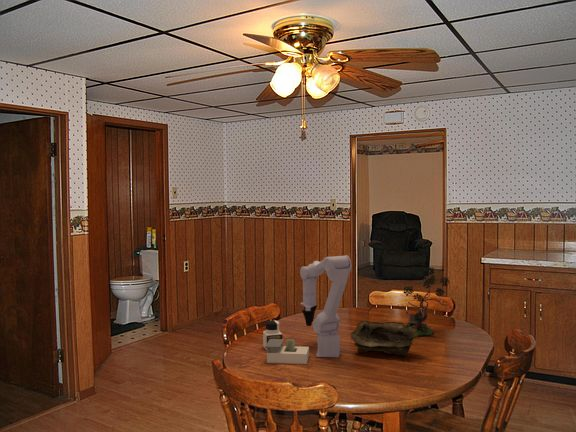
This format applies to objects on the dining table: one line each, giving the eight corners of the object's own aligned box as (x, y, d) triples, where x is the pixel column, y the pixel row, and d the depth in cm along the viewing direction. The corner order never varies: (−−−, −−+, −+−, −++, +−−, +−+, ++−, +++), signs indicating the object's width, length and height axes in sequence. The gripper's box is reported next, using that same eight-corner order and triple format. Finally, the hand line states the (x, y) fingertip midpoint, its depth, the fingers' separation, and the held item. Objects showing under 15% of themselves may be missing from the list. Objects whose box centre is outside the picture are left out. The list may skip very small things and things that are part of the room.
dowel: (295, 358, 209) (295, 339, 209) (294, 361, 205) (294, 341, 205) (287, 358, 209) (286, 338, 209) (285, 360, 206) (285, 341, 206)
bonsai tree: (450, 342, 228) (449, 272, 227) (394, 338, 236) (394, 270, 235) (450, 323, 261) (450, 262, 260) (402, 320, 269) (401, 261, 268)
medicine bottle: (266, 351, 219) (266, 323, 219) (263, 346, 226) (262, 319, 226) (282, 349, 221) (282, 322, 221) (278, 345, 228) (278, 318, 228)
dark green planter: (418, 369, 207) (425, 336, 216) (412, 354, 199) (420, 320, 208) (354, 357, 221) (363, 327, 230) (346, 342, 213) (356, 312, 221)
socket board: (309, 355, 212) (309, 339, 212) (306, 364, 201) (306, 347, 201) (270, 354, 214) (269, 338, 214) (265, 363, 203) (265, 346, 203)
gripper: (302, 290, 233) (302, 319, 234) (298, 296, 219) (299, 327, 219) (317, 290, 232) (318, 319, 233) (314, 296, 218) (315, 327, 218)
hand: (309, 323), depth 226 cm, fingers open, 7 cm apart
